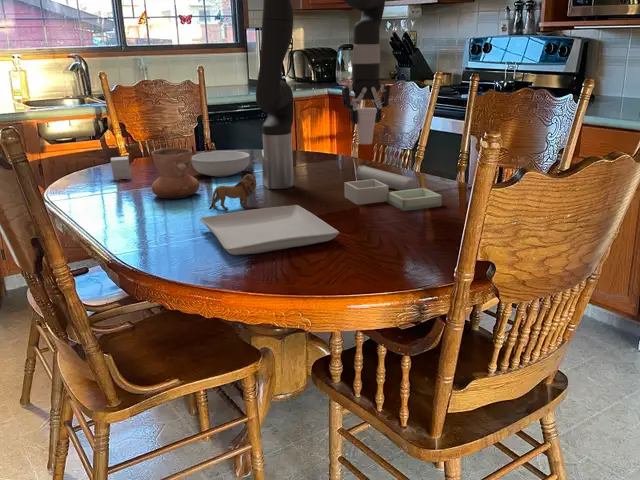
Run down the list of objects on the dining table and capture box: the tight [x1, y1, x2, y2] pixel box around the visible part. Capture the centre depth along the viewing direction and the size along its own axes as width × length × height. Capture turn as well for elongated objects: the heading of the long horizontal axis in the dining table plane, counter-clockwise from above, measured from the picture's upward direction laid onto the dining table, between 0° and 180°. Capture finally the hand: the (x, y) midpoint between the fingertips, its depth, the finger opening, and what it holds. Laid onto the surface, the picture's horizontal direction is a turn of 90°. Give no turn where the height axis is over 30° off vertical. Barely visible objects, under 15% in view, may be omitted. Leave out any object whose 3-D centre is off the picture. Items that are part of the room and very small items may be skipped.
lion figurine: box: [208, 173, 257, 210], centre depth 169 cm, size 15×5×9 cm, turn 118°
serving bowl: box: [191, 150, 251, 178], centre depth 212 cm, size 21×21×7 cm
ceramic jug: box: [151, 147, 200, 200], centre depth 183 cm, size 18×14×14 cm
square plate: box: [199, 204, 340, 256], centre depth 144 cm, size 27×27×4 cm
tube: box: [355, 165, 418, 191], centre depth 189 cm, size 5×5×25 cm
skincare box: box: [110, 155, 132, 181], centre depth 210 cm, size 6×6×7 cm
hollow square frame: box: [344, 179, 390, 206], centre depth 174 cm, size 10×10×4 cm
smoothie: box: [356, 100, 377, 145], centre depth 167 cm, size 6×6×14 cm
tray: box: [386, 187, 443, 212], centre depth 168 cm, size 12×10×3 cm
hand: (365, 123), depth 168 cm, fingers closed on smoothie, 6 cm apart
